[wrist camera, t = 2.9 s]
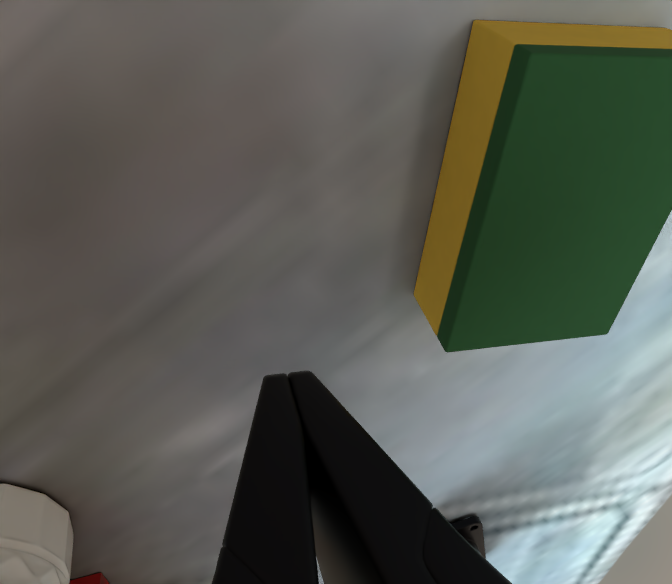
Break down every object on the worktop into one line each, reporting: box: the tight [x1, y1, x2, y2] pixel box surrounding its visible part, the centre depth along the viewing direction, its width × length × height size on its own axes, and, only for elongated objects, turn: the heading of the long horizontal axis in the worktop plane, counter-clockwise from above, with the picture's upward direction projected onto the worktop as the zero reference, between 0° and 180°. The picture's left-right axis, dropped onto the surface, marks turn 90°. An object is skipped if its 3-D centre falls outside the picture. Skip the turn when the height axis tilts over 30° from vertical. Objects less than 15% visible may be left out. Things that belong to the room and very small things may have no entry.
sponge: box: [414, 20, 672, 352], centre depth 17 cm, size 9×6×3 cm, turn 175°
